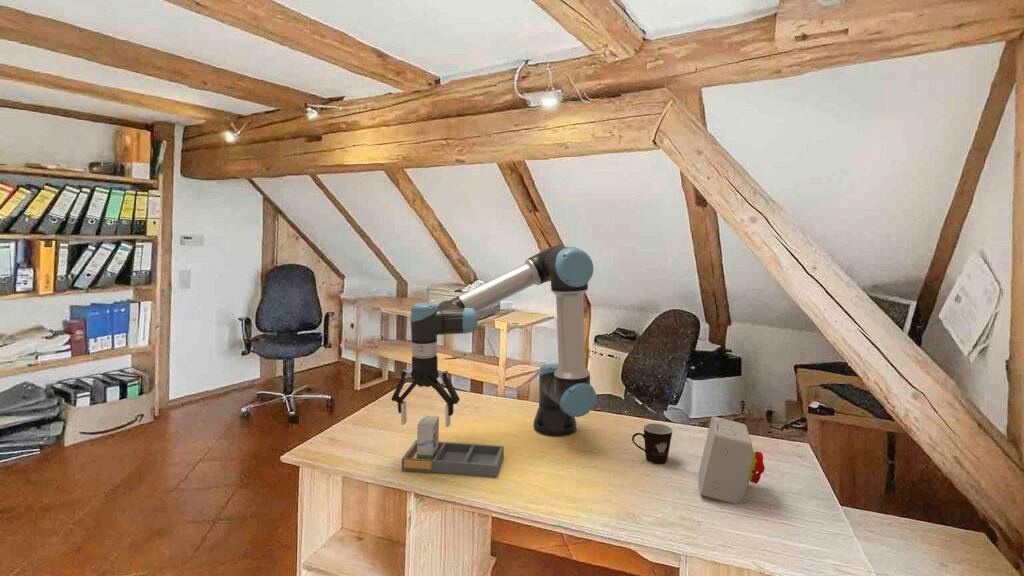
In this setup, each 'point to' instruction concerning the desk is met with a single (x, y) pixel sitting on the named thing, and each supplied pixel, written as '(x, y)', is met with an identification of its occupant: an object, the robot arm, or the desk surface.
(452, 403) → the robot arm
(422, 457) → the ink box
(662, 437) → the coffee mug
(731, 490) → the electrical switch box
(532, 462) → the desk surface
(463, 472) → the tray
